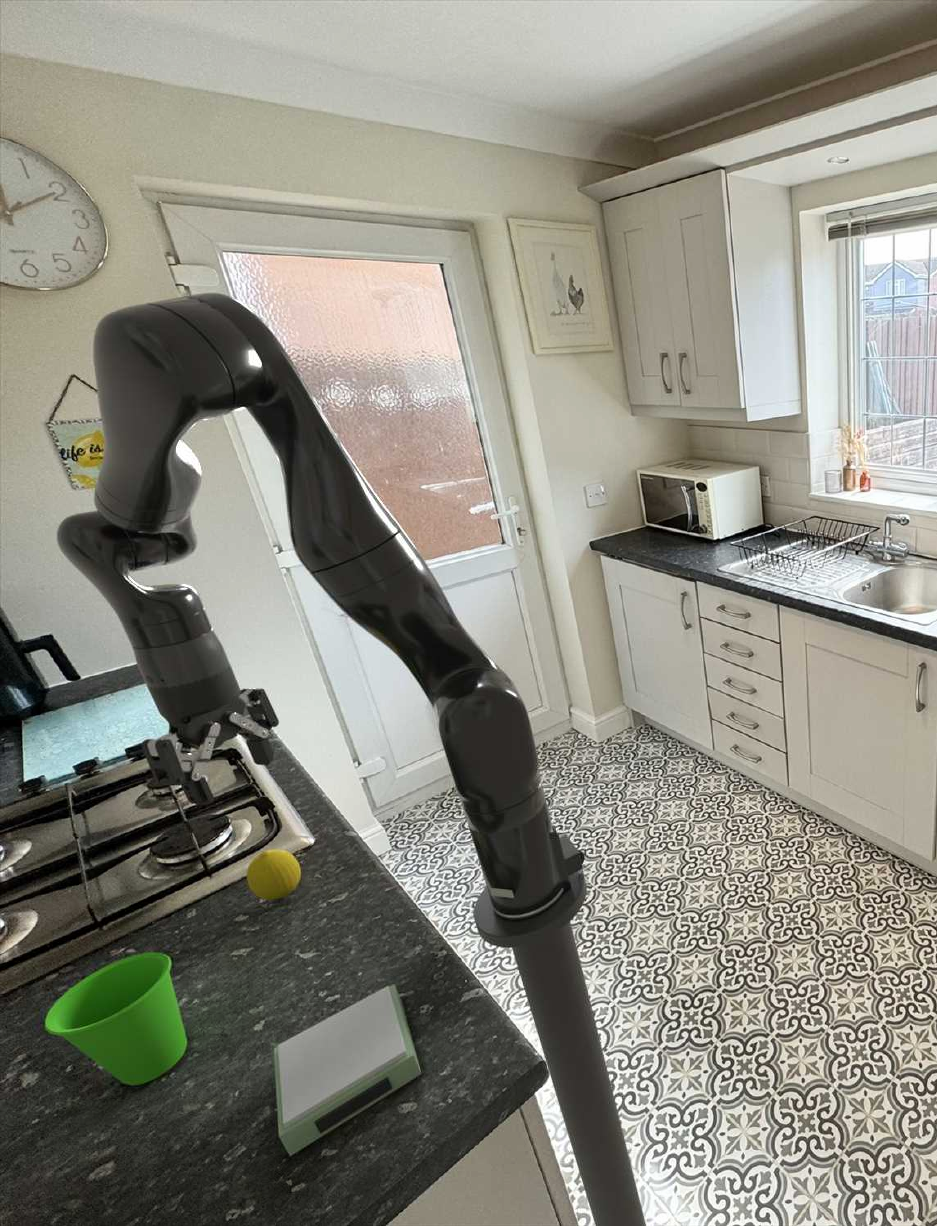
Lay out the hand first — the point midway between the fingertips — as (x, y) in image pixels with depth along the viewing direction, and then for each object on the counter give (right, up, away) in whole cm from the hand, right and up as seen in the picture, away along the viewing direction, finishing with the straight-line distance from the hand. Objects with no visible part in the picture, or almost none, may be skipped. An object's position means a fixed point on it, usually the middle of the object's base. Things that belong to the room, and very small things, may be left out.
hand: (236, 782), depth 83 cm
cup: (+4, -27, -14) cm, 31 cm away
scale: (+27, -26, -16) cm, 41 cm away
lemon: (0, -18, +7) cm, 20 cm away
